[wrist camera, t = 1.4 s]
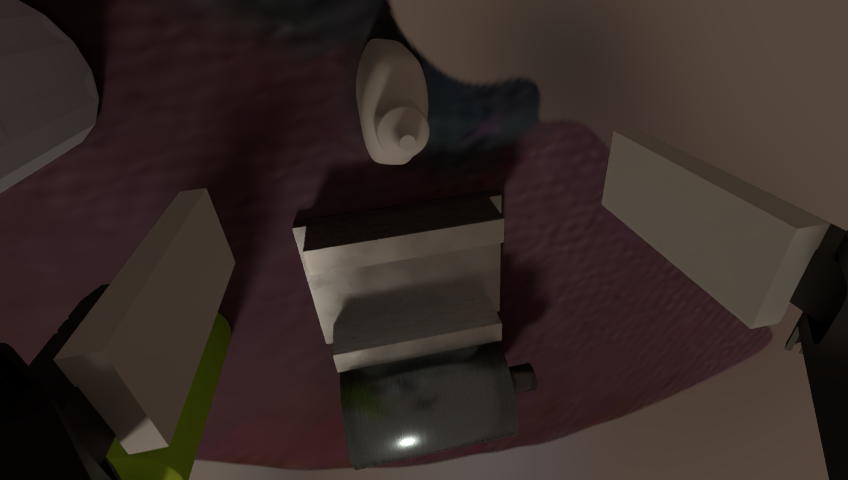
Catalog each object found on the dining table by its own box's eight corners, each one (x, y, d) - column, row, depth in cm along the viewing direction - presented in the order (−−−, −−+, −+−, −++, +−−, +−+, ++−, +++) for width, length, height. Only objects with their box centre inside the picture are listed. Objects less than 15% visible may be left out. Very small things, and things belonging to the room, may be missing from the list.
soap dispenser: (233, 364, 38) (151, 668, 21) (147, 347, 35) (-24, 679, 18) (252, 317, 36) (177, 616, 19) (162, 296, 33) (-18, 621, 16)
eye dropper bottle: (331, 102, 28) (327, 170, 18) (377, 24, 26) (402, 51, 16) (386, 137, 30) (411, 217, 19) (432, 67, 28) (488, 115, 18)
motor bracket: (293, 222, 32) (279, 297, 24) (521, 186, 33) (575, 245, 26) (346, 405, 43) (348, 494, 36) (513, 371, 45) (548, 448, 38)
